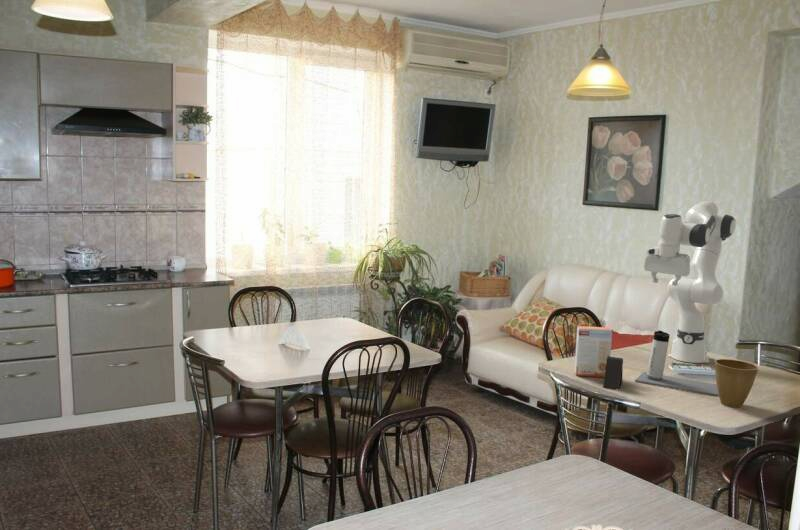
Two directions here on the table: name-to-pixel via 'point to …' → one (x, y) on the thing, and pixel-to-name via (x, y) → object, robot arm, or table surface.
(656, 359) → the travel mug
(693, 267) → the robot arm
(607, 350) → the cracker box
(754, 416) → the table surface
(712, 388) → the rubber mat
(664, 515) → the table surface
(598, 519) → the table surface
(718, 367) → the plant pot
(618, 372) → the door stopper
